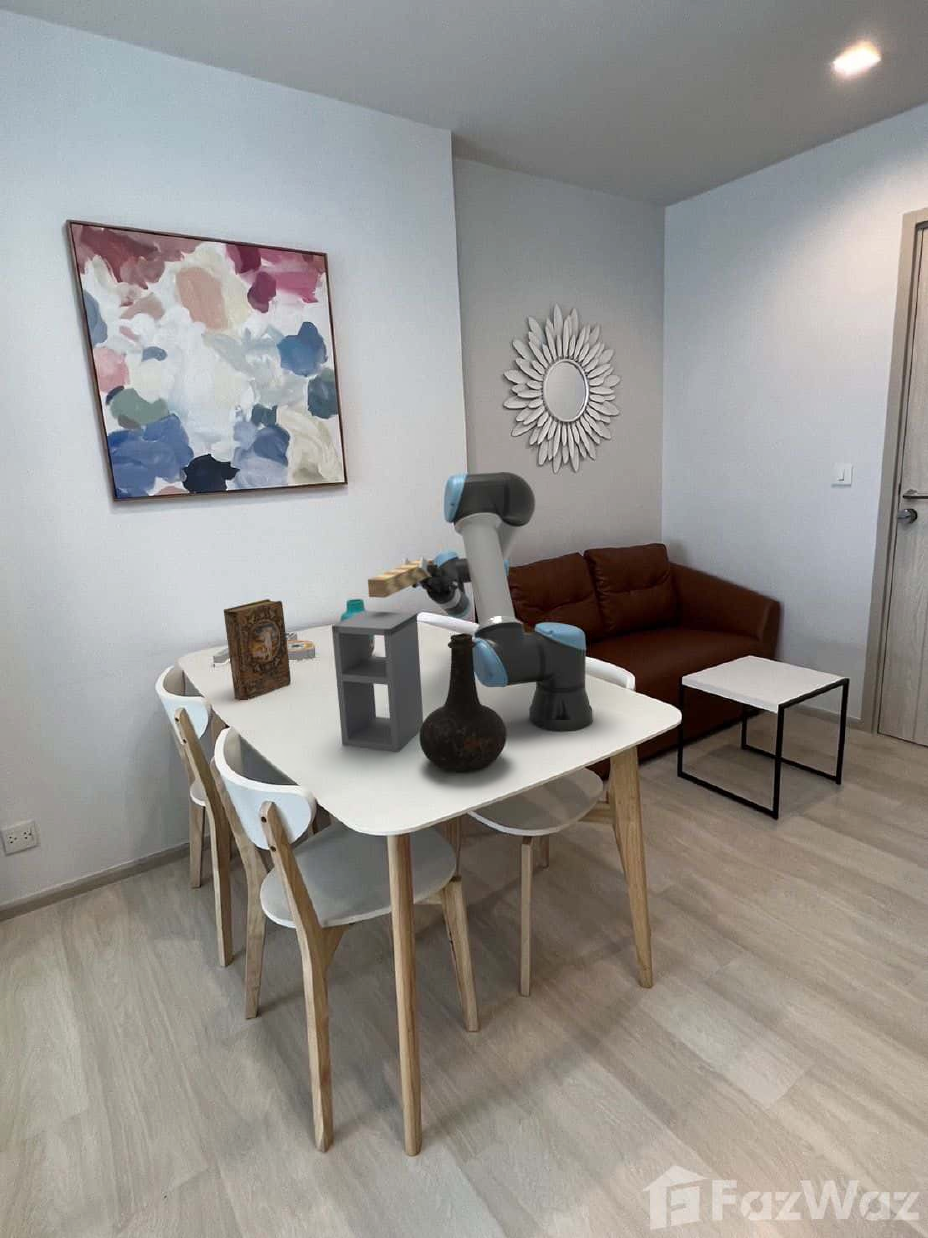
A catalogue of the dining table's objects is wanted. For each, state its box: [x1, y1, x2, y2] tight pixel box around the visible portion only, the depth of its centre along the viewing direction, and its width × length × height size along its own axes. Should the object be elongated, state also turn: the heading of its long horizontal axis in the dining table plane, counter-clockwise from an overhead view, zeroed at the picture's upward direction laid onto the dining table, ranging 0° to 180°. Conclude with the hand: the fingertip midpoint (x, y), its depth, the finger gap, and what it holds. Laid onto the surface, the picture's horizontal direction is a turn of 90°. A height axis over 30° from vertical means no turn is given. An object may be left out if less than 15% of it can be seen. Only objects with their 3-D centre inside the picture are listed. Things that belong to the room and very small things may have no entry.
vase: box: [339, 598, 376, 655], centre depth 215 cm, size 11×11×19 cm
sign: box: [212, 631, 317, 664], centre depth 225 cm, size 30×4×30 cm
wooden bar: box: [367, 558, 435, 599], centre depth 164 cm, size 30×4×4 cm, turn 160°
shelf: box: [331, 610, 424, 753], centre depth 153 cm, size 14×14×28 cm
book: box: [223, 598, 292, 701], centre depth 187 cm, size 16×6×25 cm, turn 145°
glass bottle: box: [419, 632, 508, 774], centre depth 137 cm, size 18×18×28 cm
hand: (412, 562), depth 169 cm, fingers closed on wooden bar, 4 cm apart
